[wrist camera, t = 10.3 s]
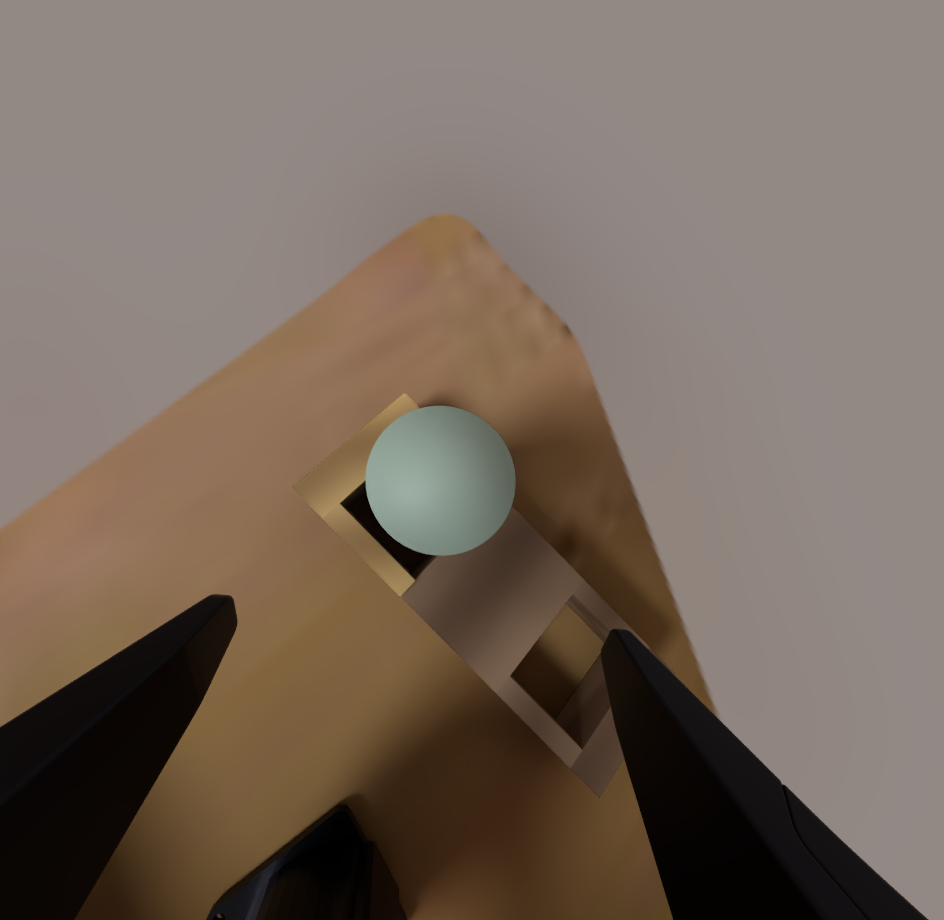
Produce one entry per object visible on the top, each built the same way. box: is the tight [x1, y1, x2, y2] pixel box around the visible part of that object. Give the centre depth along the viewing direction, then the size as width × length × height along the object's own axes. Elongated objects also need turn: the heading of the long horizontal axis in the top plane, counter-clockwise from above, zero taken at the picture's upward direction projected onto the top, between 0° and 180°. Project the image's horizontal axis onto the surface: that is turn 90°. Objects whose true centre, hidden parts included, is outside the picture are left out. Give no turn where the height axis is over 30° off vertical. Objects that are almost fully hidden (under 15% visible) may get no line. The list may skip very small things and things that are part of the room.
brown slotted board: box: [292, 393, 675, 798], centre depth 19 cm, size 21×7×3 cm, turn 46°
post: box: [365, 406, 516, 556], centre depth 15 cm, size 4×4×13 cm
